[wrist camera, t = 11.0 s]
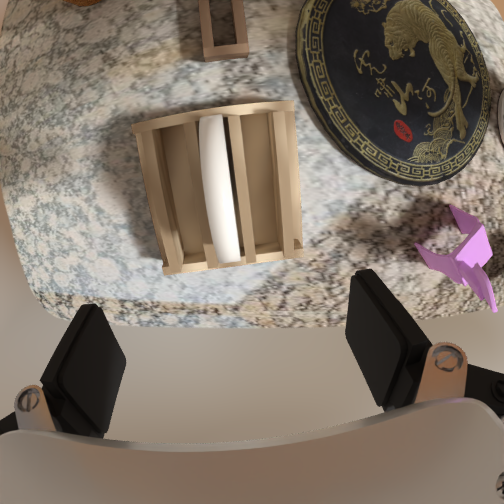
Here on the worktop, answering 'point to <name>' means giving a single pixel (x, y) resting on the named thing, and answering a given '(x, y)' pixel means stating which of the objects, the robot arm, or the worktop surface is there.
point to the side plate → (218, 188)
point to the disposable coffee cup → (82, 2)
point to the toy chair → (466, 257)
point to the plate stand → (239, 30)
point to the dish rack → (242, 179)
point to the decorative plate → (395, 84)
